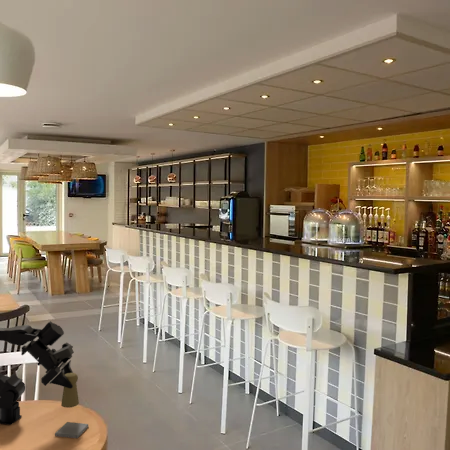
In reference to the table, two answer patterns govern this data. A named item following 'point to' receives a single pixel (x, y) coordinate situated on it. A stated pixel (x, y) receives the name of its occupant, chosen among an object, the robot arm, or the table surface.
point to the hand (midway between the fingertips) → (74, 384)
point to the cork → (70, 392)
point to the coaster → (71, 430)
